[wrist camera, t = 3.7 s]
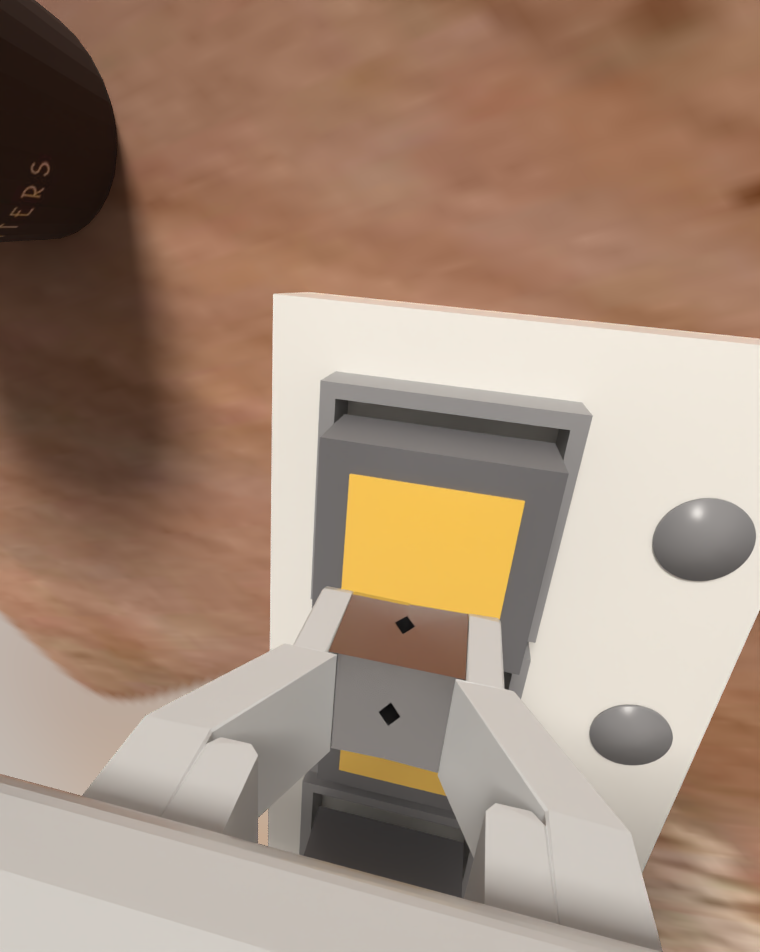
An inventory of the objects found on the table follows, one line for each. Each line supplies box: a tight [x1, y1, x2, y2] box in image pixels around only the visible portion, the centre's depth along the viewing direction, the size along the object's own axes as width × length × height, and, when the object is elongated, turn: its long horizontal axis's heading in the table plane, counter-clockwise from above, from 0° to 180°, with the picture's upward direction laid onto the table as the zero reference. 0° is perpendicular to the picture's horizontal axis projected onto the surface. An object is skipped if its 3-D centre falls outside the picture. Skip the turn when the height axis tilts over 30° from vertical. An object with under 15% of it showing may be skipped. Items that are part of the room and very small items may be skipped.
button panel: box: [268, 292, 760, 899], centre depth 17 cm, size 14×24×4 cm, turn 175°
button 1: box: [312, 414, 569, 675], centre depth 12 cm, size 5×5×2 cm
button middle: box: [317, 748, 453, 812], centre depth 16 cm, size 5×5×2 cm
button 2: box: [303, 806, 464, 898], centre depth 17 cm, size 5×5×2 cm
